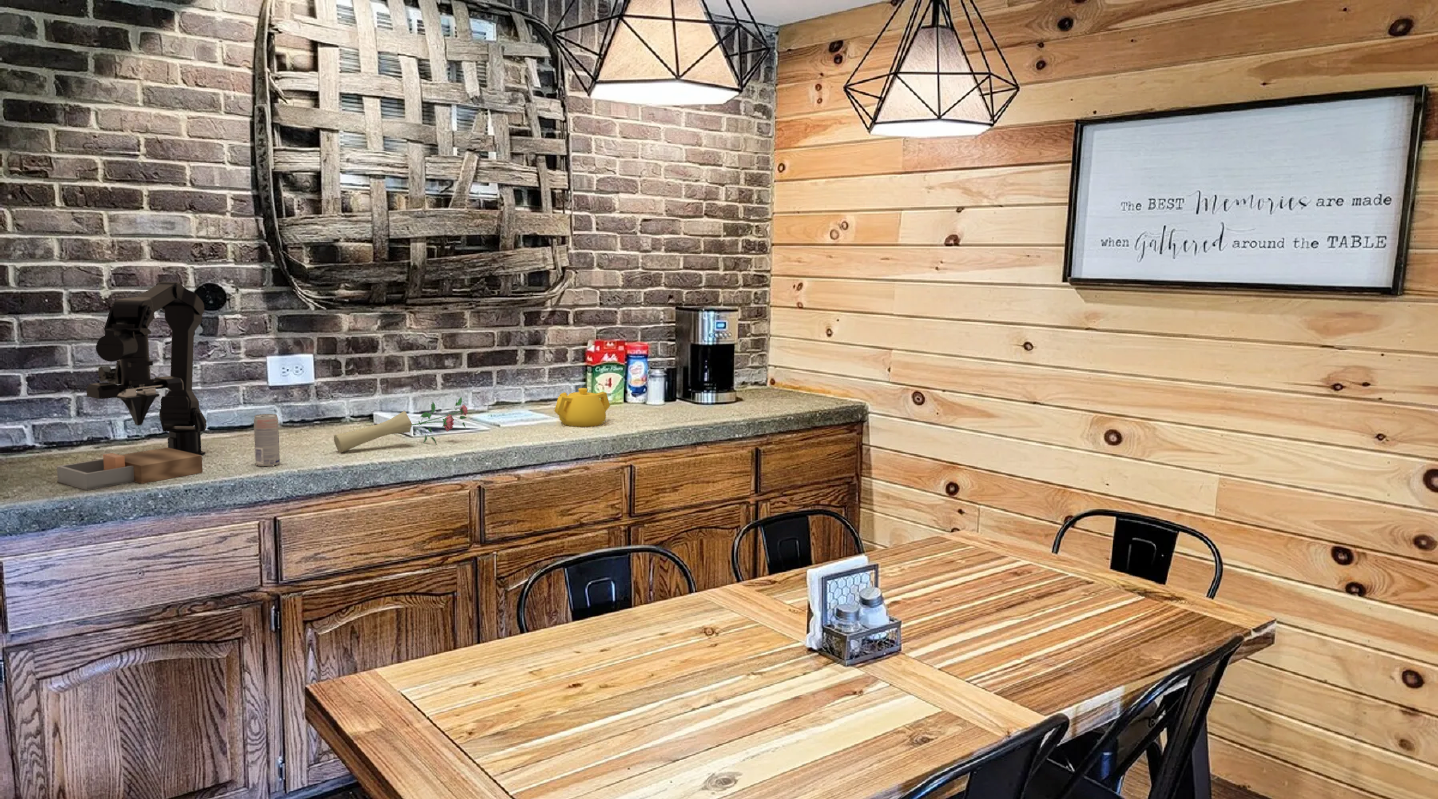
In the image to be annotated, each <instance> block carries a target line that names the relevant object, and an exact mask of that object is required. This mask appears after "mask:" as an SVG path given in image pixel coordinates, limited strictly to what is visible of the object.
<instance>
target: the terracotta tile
mask: <svg viewBox="0 0 1438 799" xmlns="http://www.w3.org/2000/svg"><path fill="white" fill-rule="evenodd" d="M122 455H123V454H117V453H114V452H112V453H103V454H102V459H103V462H104V470H109V469H115V468H121V467H125V456H122Z"/></svg>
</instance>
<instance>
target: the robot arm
mask: <svg viewBox="0 0 1438 799" xmlns="http://www.w3.org/2000/svg"><path fill="white" fill-rule="evenodd" d="M160 310H161V311H162V312H163V313H164V321H165V322H166V324H167V326H169V329H170V330H171V344H170V345H171V346H170V348H171V349H170V375H166V376H158V377H157V376H156V377H154V378H151V366H154V362H153V360H151V359H150V349H149V344H150V343H149V335H151V334H152V330H151V329H150V328H149V326H150V324H151V323H152V322H153V321H154V320H155V318H156V317H155V313H157V311H160ZM204 312H205V304H204V302H203V300H202V299H201V297H200V296H198V294H197V293H196V292H193V291H191V290H189V288H188V289H187V288H186V287H185V286H183V284H182V283H180V282H177V281H160V282H156V284H155V286H153V287H151V288H149V289H147V290H146V291H144V292H142V293H141V294H139V295H137V296H134V297H124V298H119V299H115V301H114V302H113V303H112V305H111V306H110V309H109V312H108V316H107V318H106V321H105V325H104V327H103V331H104V335H103V336H101V337H100V338H99V339H98V340H97V342H96V345H95V350H96V354H97V355H98V356H99V357H100V359H102V360H103V361H106V362H116V367H114V368H112V367H111V366H109V365H105V366H103V365H102V366H100V367H97V368H98V369H97V370H98V372H97V373H98V379H99V381H100V382H95V383H89V384H88V386H87V387H86V388H85V390H86V398H88V397H89V398H91V399H99V400H105V399H113V398H115V399H120V400H121V401H122V402H123V404H125V406H126V408H127V409H128V410H127V411H129V414H130V416H131V419H132V420H133V423H134V424H135V425H136V426H142V425H143V423H144V420H145V419H146V416H147V414H148V412H149V410H150V408H151V405H152V404H153V403H154V401H155V399H156V398H157V397H160V394H159V393H157V392H156V390H159V389H160V390H161V389H167V390H168V391H167V393H166V395H163V396H161V398H160V409H159V413H158V415H159V420H160V425H161V429H162V432H164V433H165V432H168V437H167V447H168V448H172V449H176V450H180V451H185V452H189V453H193V454H198V455H205V454H206V451H203V450H202V440H201V438H202V436H201V432H205V431H206V429H207V422H208V421H207V419H206V417H205V416H204V414H203V413H202V411H201V409H200V403H199V402H200V401H199V399H198V397H197V396H196V395H195V393H194V392H193V376H194V375H193V369H194V344H195V343H194V342H195V332H196V330H197V329H198V328H199V327H200V325H201V324H202V321H203V315H204Z"/></svg>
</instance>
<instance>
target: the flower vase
mask: <svg viewBox="0 0 1438 799" xmlns="http://www.w3.org/2000/svg"><path fill="white" fill-rule="evenodd" d="M457 400H458V401H457ZM458 406H461V407H460V408H459V411H456V410H457V408H454V409H455V410H454V412H452V413H451V414H450V413H449V414H446V415H443V416H439V417H436V418H433V419H432V418H431V417H432V414H433V413H434V412H435V410H436V405H435V403H434V401H432V403H431V404H430V408H431V411H430V412H431V413H430V412H427V411H425V412H423V413H421V415H420V418H422V419H421V421H420V420H419V419H418V423H413V422H412V421H411V420H410V417H409V415H408V414H407V412H406V410H403V411H402V412H400V413H398V414H397V415H395V416H393V417H391V418H389V419H388V420H385V421H383V422H380V423H377V424H374V425H370V426H366V427H363V428H359V429H354V430H350V431H348V432H347V431H346V432H343V433H338V434H334V435H333V441H334V445H335V447H336V450H337V452H339V453H340V454H343V453H345V452H346V451H349V450H352V449H353V448H356V447H358V446H361V445H363V444H366V443H368V442H371V441H373V440H376V439H379V438H381V437H385V436H389V435H395V434H407V433H410V432H411V429H412V427H413V426H417V425H418V426H419V427H421V426H422V425H426V424H435V423H442V424H443V425H442V427H441V428H444V429H445V431H446V432H450V430H452V429H453V428H454V425H455V424H454V421H456V418H454V416H453V415H455V414H458V413H460V416H459V418H458V420H464V419H467V414H468V413H469V412H468V411H469V410H468V407H467V406H466V405H465V404H463V396H461V397H459V399H455V405H454V407H458ZM427 418H428V420H424V421H422V420H423V419H427ZM438 419H442V421H437V420H438ZM434 420H436V421H434ZM458 423H460V424H462V425H463V427H464V429H465V430H466V428H467V427H466V424H465V422H464V421H462V422H460V421H458ZM415 430H417V431H418V432H420V434H421V435H423V432H422V431H420V430H419V428H415ZM423 431H424V435H425V436H424V440H423V444H425V443H426V441H427V440H428V437H429V438H430V439H432V441H433V442H434V443H435V445H436V446H437V445H438V444H437V441H436V439H435V437H433V436H431V437H430V436H429V434H428V433H427V432H426V431H428V432H429V433H431V434H432V433H433V430H432V428H431V427H428V429H427V430H426V429H425V428H423Z"/></svg>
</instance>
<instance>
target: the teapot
mask: <svg viewBox="0 0 1438 799" xmlns="http://www.w3.org/2000/svg"><path fill="white" fill-rule="evenodd" d="M607 394H608V393H607V392H606V391H600V392H597V393H595V392H588V388H586V387H580V388H578V391H576V392H575V391H574V392H570V393H569V394H567V392H561V393H560V394H559V396H558V397H557V400H556V403H555V407H554V413H555V414H556V415H558V418H559V420H560V422H561V423H562V424H563V425H564V426H569V427H575V428H576V427H577V428H589V427H598V426H601V425H602V424H603V423H604V422H605V421H606V420H607V414H606V413H607V412H606V411H607V410H608V409H609V408H610V407H611V405H610V401H609V397H608V395H607Z"/></svg>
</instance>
